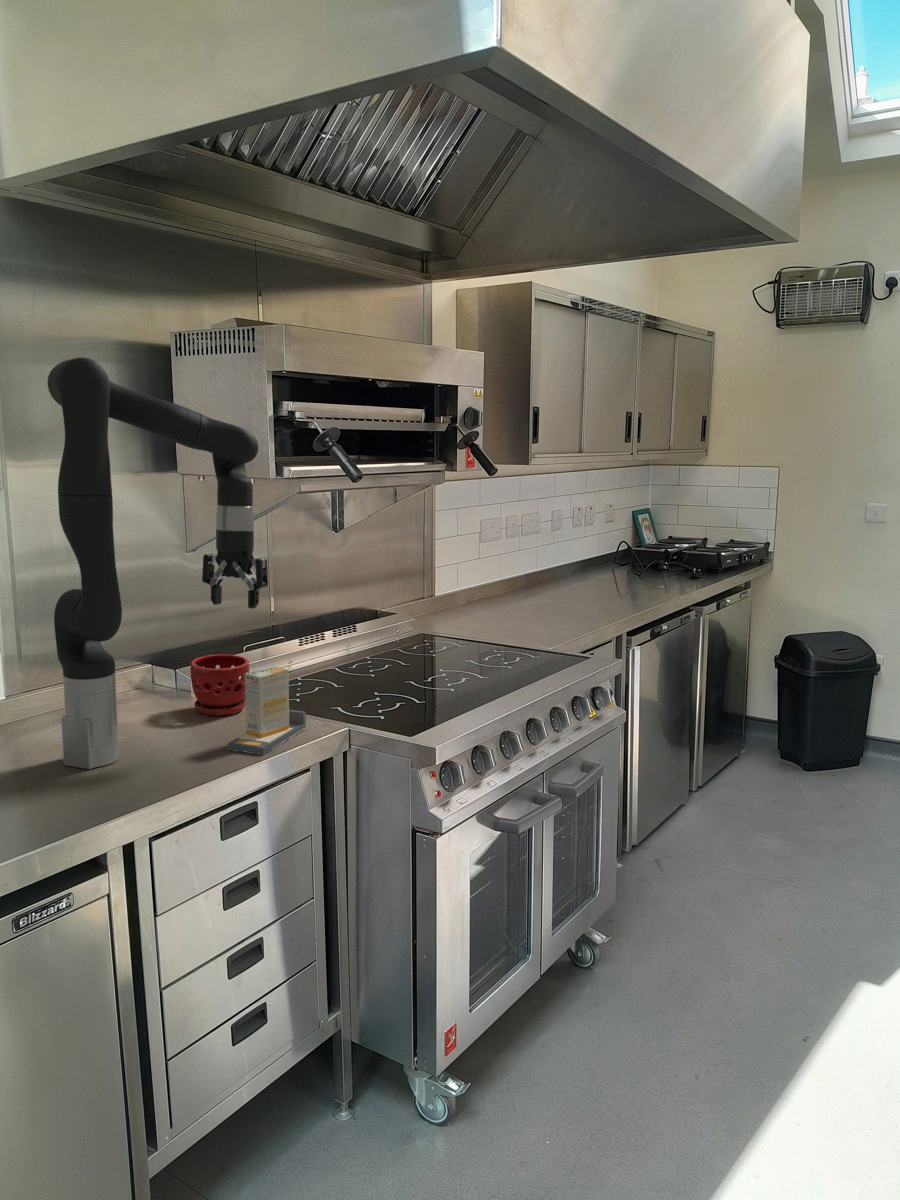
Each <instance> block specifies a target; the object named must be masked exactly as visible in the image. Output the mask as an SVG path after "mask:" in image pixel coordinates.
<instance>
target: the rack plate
mask: <svg viewBox="0 0 900 1200" xmlns="http://www.w3.org/2000/svg"><path fill="white" fill-rule="evenodd" d="M306 717H307V716H306V711H301V710H295V709H289V728H288V729H285V730H282V731H279V732H276V733H273V734H270V735H267V736H265V737H262V738H261V737H257V736H253V735H250V734H247V733H244V734H242V735H240V736H239V737H236V738H234V739H232V740H231V741H229V742H228V743H227V745H228V746H227V749H230V750H229V751H231V750H238V751H247V752H253V753H260V754H264V753H266V752H267V751H269V750H270V749H272V748H273V747H275V746H276V745H278V744H279V743H281V742H282V741H284V740H285V739H287V738H289V737H290V736H292V735H294V734H295V733H297V732H298V731H300V730H302V729H303V728H305V727H307V725H306V720H307V719H306ZM238 751H237V752H238ZM269 752H270V751H269ZM266 754H267V753H266ZM264 755H265V754H264Z"/></svg>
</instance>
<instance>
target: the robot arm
mask: <svg viewBox="0 0 900 1200" xmlns="http://www.w3.org/2000/svg"><path fill="white" fill-rule="evenodd" d="M109 378H110V377H109V376H108V373H107V371H106V370H105V369H104V367H103V366H102V365H101V364H100V363H98V362H97V361H96V360H93V359H91V358H87V357H74V358H71V359H67V360H64V361H61V362H60V363H58V364H57V365H55V366H54V367H53V368H52V369H51V370H50V372H49V374H48V376H47V389H48V391H49V394H50V396H51V397H52V399H53V400H54V401H55V403H57V404H58V405H60V406H61V409H62V416H63V417H62V418H63V427H64V444H63V445H64V446H63V450H62V451H63V452H62V455H61V462H60V467H59V472H58V479H57V481H58V483H57V484H58V485H57V494H58V495H57V499H58V516H59V523H60V526H61V529H62V531H63V532H64V535H65V538H66V539H67V541H68V544H69V545H70V548H71V549H72V552H73V554H74V555H75V557H76V560H77V563H78V567H79V572H80V581H81V582H80V585H81V588H73V589H69V590H67V591H65V592H63V593H62V594H61V596H60V597H59V598H58V600H57V602H56V604H55V607H54V613H53V614H54V615H53V621H54V622H53V624H54V625H53V626H54V635H55V646H56V654H57V658H58V662H59V663H60V666H61V667H62V675H63V695H64V697H63V698H64V699H63V700H64V715H63V716H62V717H61V734H62V735H61V736H62V752H63V753H62V758H63V766H66V767H67V766H68V767H74V768H79V769H85V770H91V769H94V768H98V767H99V768H100V767H104V766H108V765H110V764H113V763H115V762H117V760H118V759H119V735H118V732H119V731H118V712H117V711H118V709H117V707H118V705H117V685H116V681H117V680H116V678H117V677H116V663H115V658H114V657H113V656H112V654H110V653H109V652H108V651H107V650H106V649H105V648H104V647H103V645H102V643H101V642H106V641H109V640H111V639H112V638H113V637H115V635H116V634H117V633H118V631H119V629H120V626H121V623H122V618H123V617H122V616H123V607H122V598H121V593H120V586H119V579H118V572H117V565H116V556H115V555H116V554H115V553H116V551H115V539H114V508H113V507H114V506H113V505H114V503H113V500H114V499H113V488H112V487H113V486H112V474H111V461H110V453H109V452H110V451H109V437H108V435H109V433H108V432H109V418H110V419H112V420H115V421H118V422H119V421H120V422H122V423H125V424H129V425H131V426H134V427H136V428H139V429H141V430H144V431H146V432H148V433H152V434H153V435H156V436H159V438H163V439H166V440H168V441H171V442H174V443H176V444H179V445H182V446H184V447H187V448H190V449H193V450H197V451H204V452H208V453H211V454H212V455H211V456H212V462H213V468H214V473H215V478H216V481H217V494H216V495H217V497H216V498H217V499H216V500H217V501H216V503H217V504H216V505H217V506H216V507H217V508H216V514H215V549H216V551H217V553H216V554H214V553H205V554H203V556H202V557H203V558H202V559H203V560H202V576H201V577H202V578H201V581H202V583H204V584H208V585H209V586H210V601H211V603H212V604H213V605H215V606H218V605H222V597H223V596H222V595H223V593H222V586H221V585H222V583H223V582H224V580H225V579H227V578H230V577H233V578H236V579H239V578H240V579H241V581H242V582H244V583H245V584H246V586H247V587H248V590H247V591H248V592H247V597H248V599H247V607H248V609H252V610H253V609H255V608H257V606H258V605H259V602H260V599H259V598H260V597H259V596H260V590H261V589H263V588H266V587H268V586H269V577H268V560H267V558H266V557H260V558H255V557H254V553H253V552H254V547H255V542H254V541H255V540H254V538H255V537H254V535H255V532H254V531H255V530H254V529H255V522H254V521H255V520H254V518H255V517H254V508H253V507H254V506H253V502H254V500H253V499H254V498H253V495H254V491H253V487H254V486H253V482H252V480H251V479H250V478H249V477H248V476H247V472H246V464H248V463H251V461H254V459H255V458H256V457H257V455H258V452H259V443H258V439H257V438H256V436H255V435H254V434H253V433H252V432H250V431H249V430H248V429H245V428H243V427H242V426H238V425H235V424H231V423H228V422H224V421H221V420H219V419H218V420H217V419H214V418H211V417H209V416H207V415H204V414H202V413H201V412H198V411H195V410H193V409H190V408H187V407H185V406H183V405H180V404H177V403H175V402H171V401H168V400H164V399H161V398H157V397H155V396H150V395H146V394H143V393H140V392H137V391H134V390H132V389H128V388H126V387H124V386H121V385H119V384H117V383H116V382H113V381H111V380H110V379H109ZM216 564H217V567H218V568H217V569H216V571H215V567H216ZM253 567H254V568H255V572H254V571H253V569H252V568H253Z"/></svg>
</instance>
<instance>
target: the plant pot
mask: <svg viewBox="0 0 900 1200" xmlns="http://www.w3.org/2000/svg"><path fill="white" fill-rule="evenodd" d="M216 666H219V668H217V667H216ZM248 672H250V661H249V659H248V658H246V657H244V656H240V655H236V654H227V653H226V654H223V653H221V654H209V655H204V656H200V657H196V658H194V659H193V660H191V662H190V680H191V687H192V691H193V694H194V696H195V698H196V700H195V702H194V704H193V705H194V708H195V709H196V710H197V711H198V712H200V713H201V714H204V715H209V716H228V715H233V714H236V713H238V712H241V711H242V710H243V709H244V708H246V698H244V697H245V673H248Z"/></svg>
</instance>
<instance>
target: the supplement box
mask: <svg viewBox="0 0 900 1200" xmlns="http://www.w3.org/2000/svg"><path fill="white" fill-rule="evenodd" d="M289 672H290V671H289V669H288V668H284V667H280V666H276V665H273V666H268V667H264V668H261V669H257V670H253V671H252V670H251V671H249V672H248V673H245V695H244V697H245V700H246V705H245V729H246V731H245V732H246V733H247V734H250V735H253V736H257V737H261V738H262V737H265V736H267V735H270V734H273V733H276V732H279V731H282V730H285V729H288V728H289V710H290V699H289V698H290V694H289V693H290V691H289V690H290V686H289V685H290V683H289V682H290V680H289V679H290V678H289V677H290V676H289V675H290V673H289ZM246 733H245V734H246Z"/></svg>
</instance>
